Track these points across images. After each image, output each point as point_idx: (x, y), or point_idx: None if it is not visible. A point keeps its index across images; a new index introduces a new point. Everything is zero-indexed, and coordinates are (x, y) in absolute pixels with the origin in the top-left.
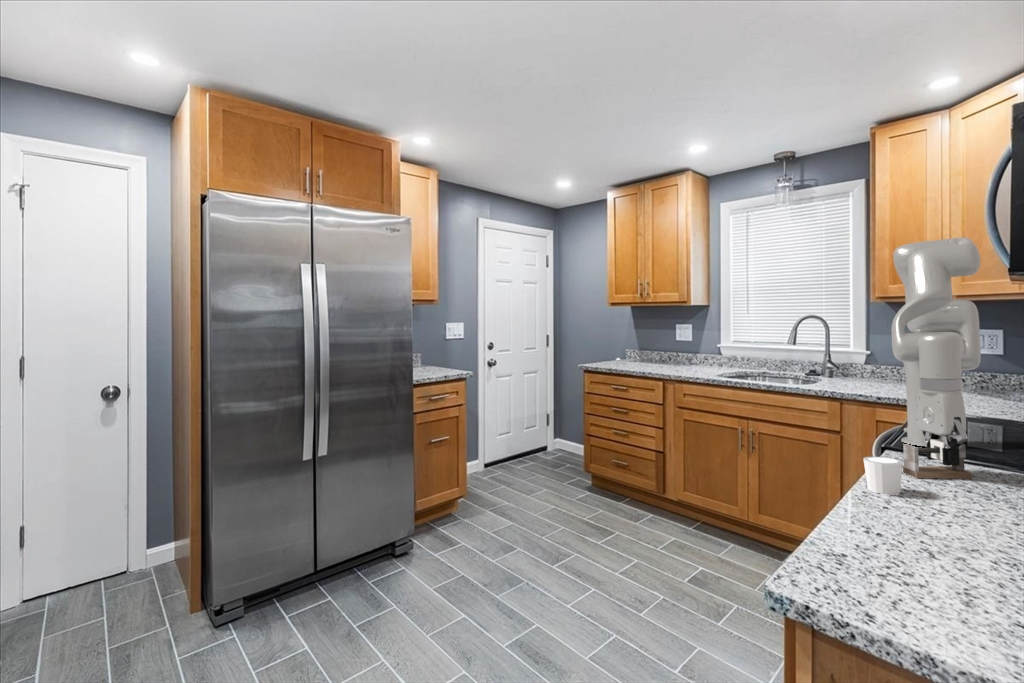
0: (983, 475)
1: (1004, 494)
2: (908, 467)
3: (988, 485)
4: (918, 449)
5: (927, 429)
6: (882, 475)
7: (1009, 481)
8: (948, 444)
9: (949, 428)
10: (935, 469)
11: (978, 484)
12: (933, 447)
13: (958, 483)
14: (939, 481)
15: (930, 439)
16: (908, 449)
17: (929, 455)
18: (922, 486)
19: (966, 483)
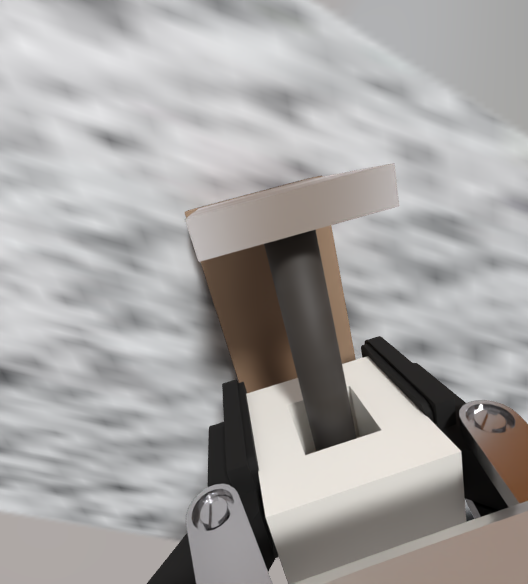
0: None
1: (13, 485)
2: (266, 190)
3: (157, 468)
4: (283, 279)
5: (490, 567)
6: None
7: None
8: (191, 545)
9: None
10: (284, 333)
11: (162, 440)
12: (377, 413)
13: (152, 373)
14: (164, 305)
15: (455, 451)
16: (287, 189)
17: (373, 355)
18: (5, 183)
19: (164, 403)
